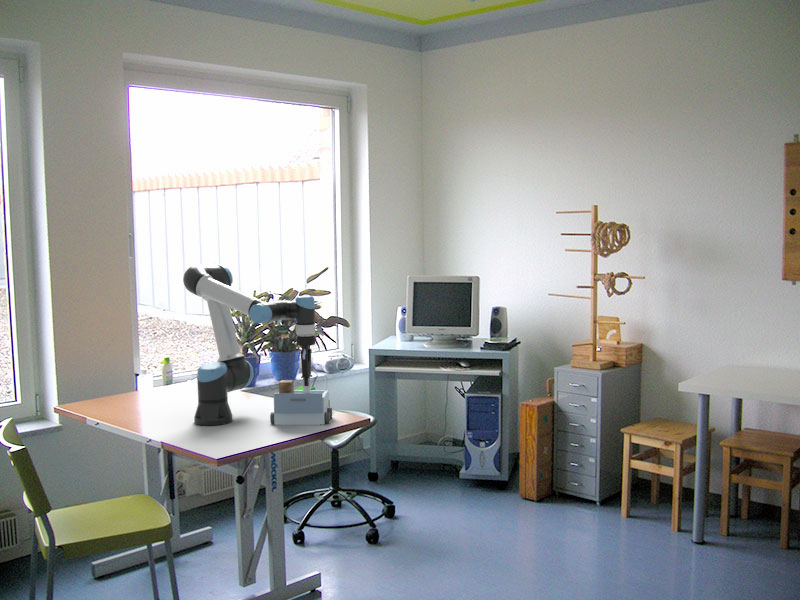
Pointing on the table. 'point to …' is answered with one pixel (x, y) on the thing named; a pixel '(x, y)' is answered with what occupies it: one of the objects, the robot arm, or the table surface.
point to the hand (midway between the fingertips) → (306, 393)
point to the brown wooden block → (286, 386)
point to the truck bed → (305, 414)
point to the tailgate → (298, 403)
